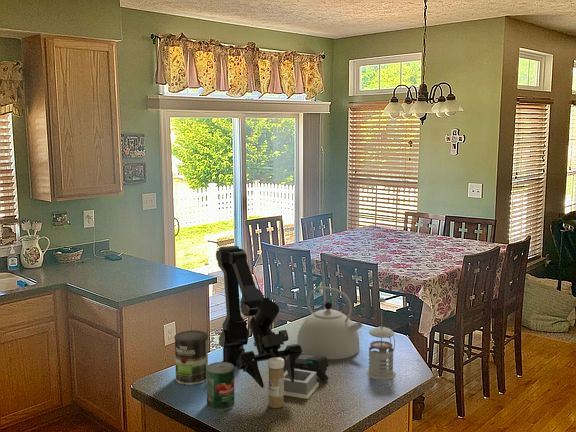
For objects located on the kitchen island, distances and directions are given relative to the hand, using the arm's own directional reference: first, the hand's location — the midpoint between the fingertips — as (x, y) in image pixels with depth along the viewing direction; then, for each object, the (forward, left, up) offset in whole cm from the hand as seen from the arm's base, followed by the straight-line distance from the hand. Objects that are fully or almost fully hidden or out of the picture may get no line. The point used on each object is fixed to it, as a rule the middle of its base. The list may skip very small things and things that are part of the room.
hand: (278, 384), depth 162 cm
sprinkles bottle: (-1, +1, -7) cm, 7 cm away
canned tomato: (-16, -4, -7) cm, 18 cm away
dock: (+1, +13, -7) cm, 15 cm away
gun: (-2, +26, -7) cm, 27 cm away
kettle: (0, +51, -7) cm, 51 cm away
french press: (+22, +35, -7) cm, 42 cm away
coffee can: (-33, +9, -7) cm, 35 cm away
